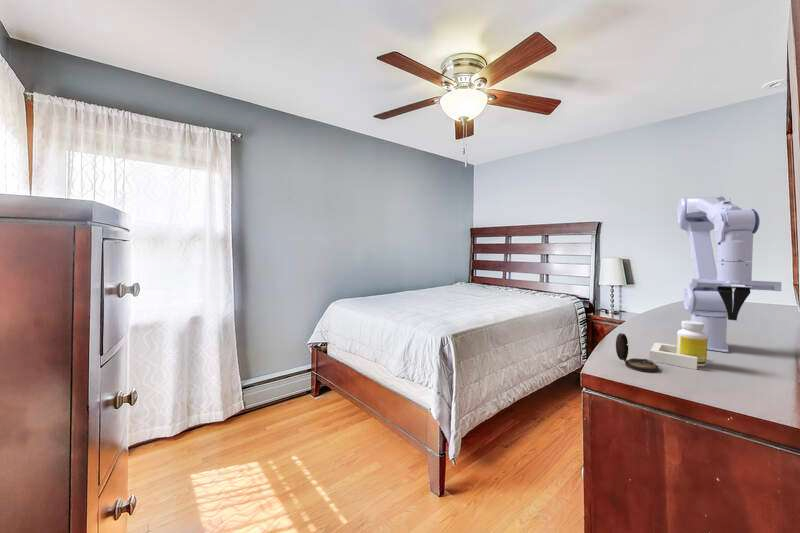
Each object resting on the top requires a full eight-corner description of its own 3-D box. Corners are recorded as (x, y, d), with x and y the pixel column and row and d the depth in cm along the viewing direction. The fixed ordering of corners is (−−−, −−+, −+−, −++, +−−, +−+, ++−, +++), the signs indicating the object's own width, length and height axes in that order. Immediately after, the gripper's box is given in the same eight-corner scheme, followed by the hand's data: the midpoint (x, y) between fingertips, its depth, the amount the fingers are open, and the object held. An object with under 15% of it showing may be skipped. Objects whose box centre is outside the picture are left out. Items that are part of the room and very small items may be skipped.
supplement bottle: (712, 368, 75) (714, 325, 74) (684, 366, 76) (686, 324, 75) (696, 360, 80) (698, 320, 79) (670, 358, 81) (672, 319, 81)
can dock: (654, 351, 87) (655, 342, 87) (698, 358, 81) (698, 348, 81) (649, 360, 80) (649, 350, 80) (696, 369, 74) (697, 358, 74)
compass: (655, 375, 71) (656, 341, 71) (613, 365, 77) (614, 334, 77) (664, 366, 76) (665, 335, 76) (624, 358, 82) (625, 329, 82)
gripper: (691, 261, 79) (690, 317, 79) (784, 262, 69) (782, 326, 69) (693, 261, 84) (691, 314, 84) (779, 261, 74) (777, 322, 74)
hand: (732, 319), depth 77 cm, fingers closed
